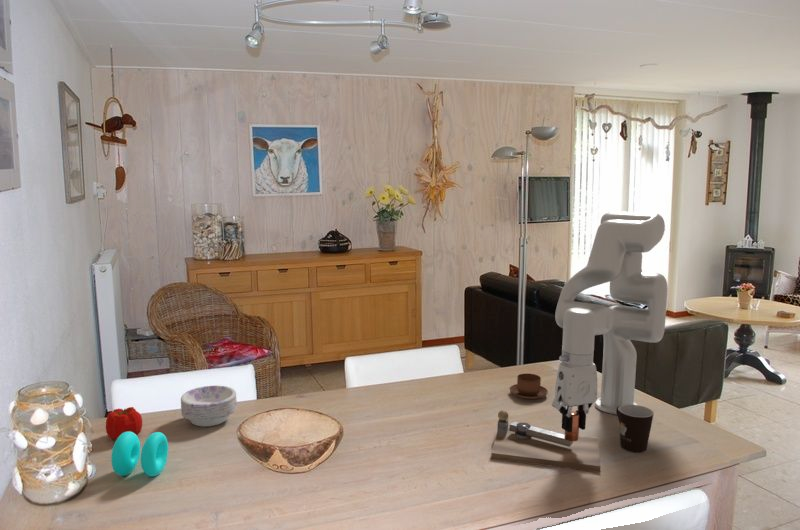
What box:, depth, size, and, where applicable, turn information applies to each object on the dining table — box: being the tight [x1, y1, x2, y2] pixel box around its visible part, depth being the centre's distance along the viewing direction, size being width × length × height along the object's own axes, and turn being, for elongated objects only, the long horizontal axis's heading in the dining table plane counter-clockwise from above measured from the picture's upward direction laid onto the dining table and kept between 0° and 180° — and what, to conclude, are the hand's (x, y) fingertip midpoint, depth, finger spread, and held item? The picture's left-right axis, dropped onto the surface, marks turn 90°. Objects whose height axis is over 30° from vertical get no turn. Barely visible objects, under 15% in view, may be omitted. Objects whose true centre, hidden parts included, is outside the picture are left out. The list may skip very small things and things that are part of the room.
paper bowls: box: [180, 384, 238, 428], centre depth 174 cm, size 15×15×8 cm
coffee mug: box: [616, 404, 655, 454], centre depth 160 cm, size 12×9×10 cm
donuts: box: [110, 431, 169, 477], centre depth 143 cm, size 10×10×10 cm
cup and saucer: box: [509, 373, 549, 400], centre depth 196 cm, size 12×12×6 cm
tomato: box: [105, 406, 143, 441], centre depth 163 cm, size 9×9×8 cm
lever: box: [508, 410, 580, 447], centre depth 158 cm, size 18×4×8 cm, turn 54°
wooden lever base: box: [490, 409, 602, 473], centre depth 156 cm, size 16×26×7 cm, turn 75°
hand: (573, 428), depth 153 cm, fingers closed on lever, 3 cm apart
